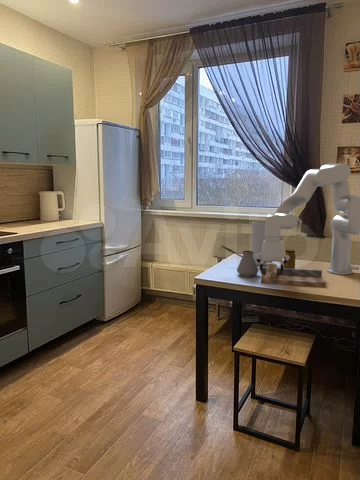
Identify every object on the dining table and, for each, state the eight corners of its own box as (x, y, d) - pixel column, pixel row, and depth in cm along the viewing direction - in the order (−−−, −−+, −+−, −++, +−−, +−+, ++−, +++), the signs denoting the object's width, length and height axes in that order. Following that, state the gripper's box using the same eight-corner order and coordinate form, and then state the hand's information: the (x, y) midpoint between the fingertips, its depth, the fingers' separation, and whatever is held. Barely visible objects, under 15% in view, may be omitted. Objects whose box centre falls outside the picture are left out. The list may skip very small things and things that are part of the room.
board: (321, 279, 188) (321, 270, 187) (324, 286, 176) (325, 276, 175) (261, 276, 194) (261, 267, 193) (260, 283, 183) (261, 273, 182)
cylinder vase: (249, 264, 218) (250, 223, 214) (253, 260, 230) (254, 220, 225) (270, 266, 214) (272, 224, 209) (273, 261, 225) (275, 221, 220)
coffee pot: (260, 273, 200) (261, 246, 197) (255, 279, 190) (255, 250, 187) (223, 269, 209) (224, 243, 206) (216, 274, 199) (216, 247, 196)
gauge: (276, 274, 191) (276, 263, 190) (276, 279, 181) (277, 268, 180) (266, 273, 192) (266, 262, 191) (266, 279, 182) (266, 267, 181)
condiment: (280, 269, 208) (281, 248, 205) (294, 268, 209) (295, 248, 207) (286, 273, 201) (287, 251, 198) (300, 272, 202) (302, 250, 200)
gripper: (289, 238, 187) (288, 270, 190) (255, 237, 190) (254, 269, 194) (290, 240, 179) (289, 274, 183) (254, 239, 183) (254, 272, 186)
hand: (271, 271), depth 188 cm, fingers open, 9 cm apart
